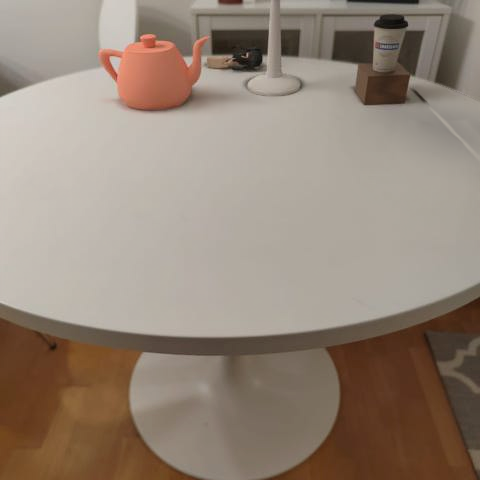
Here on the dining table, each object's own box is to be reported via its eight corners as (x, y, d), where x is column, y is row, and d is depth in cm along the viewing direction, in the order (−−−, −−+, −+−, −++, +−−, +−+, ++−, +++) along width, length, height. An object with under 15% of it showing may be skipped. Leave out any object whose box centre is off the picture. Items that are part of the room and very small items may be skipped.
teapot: (216, 85, 113) (212, 24, 104) (212, 111, 100) (207, 43, 91) (116, 88, 114) (103, 27, 105) (99, 113, 101) (84, 47, 92)
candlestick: (258, 76, 117) (257, -72, 97) (306, 80, 113) (315, -73, 94) (239, 93, 108) (234, -66, 89) (291, 98, 105) (298, -67, 85)
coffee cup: (372, 62, 103) (380, 12, 97) (403, 66, 101) (413, 14, 94) (363, 71, 99) (370, 19, 92) (395, 75, 96) (405, 21, 89)
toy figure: (206, 74, 120) (263, 70, 119) (203, 48, 117) (262, 43, 116) (209, 70, 126) (263, 65, 125) (206, 44, 123) (261, 40, 122)
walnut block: (392, 89, 107) (397, 61, 103) (404, 103, 100) (410, 74, 96) (354, 91, 107) (358, 63, 103) (364, 105, 100) (368, 76, 96)
